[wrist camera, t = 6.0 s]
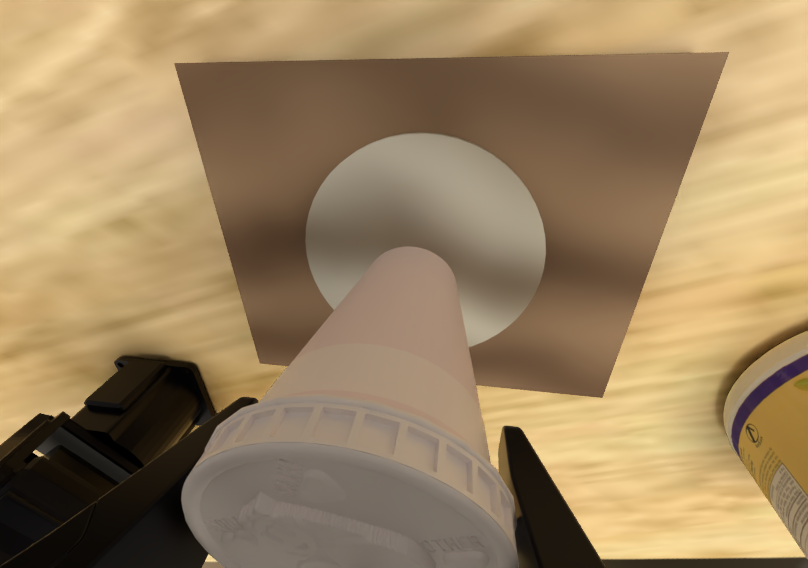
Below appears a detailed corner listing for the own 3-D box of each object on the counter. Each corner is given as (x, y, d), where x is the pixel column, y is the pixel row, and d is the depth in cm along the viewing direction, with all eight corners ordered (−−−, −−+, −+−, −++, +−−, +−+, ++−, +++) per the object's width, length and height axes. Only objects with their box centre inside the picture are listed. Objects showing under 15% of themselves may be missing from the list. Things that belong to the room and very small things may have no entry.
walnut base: (591, 369, 22) (604, 404, 20) (275, 340, 25) (256, 368, 23) (694, 53, 14) (738, 51, 12) (207, 63, 17) (165, 63, 14)
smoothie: (419, 371, 17) (311, 1053, 5) (306, 288, 16) (-189, 970, 4) (527, 286, 14) (834, 1430, 2) (399, 174, 13) (-536, 1683, 1)
